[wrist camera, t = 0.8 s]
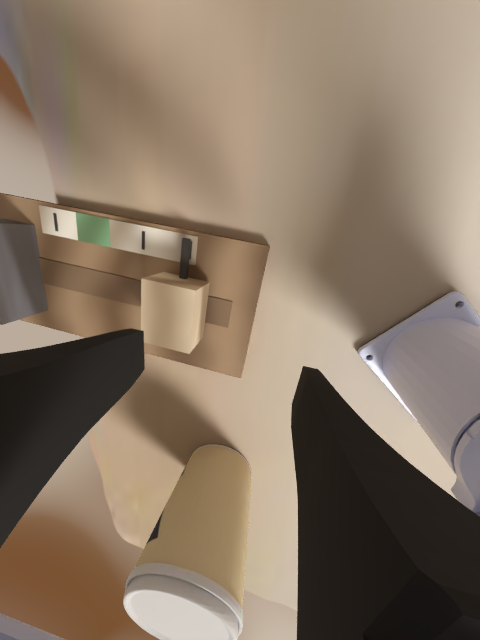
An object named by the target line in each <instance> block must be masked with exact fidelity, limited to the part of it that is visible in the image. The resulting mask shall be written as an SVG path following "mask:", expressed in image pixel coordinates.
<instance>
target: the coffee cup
mask: <svg viewBox="0 0 480 640" xmlns="http://www.w3.org/2000/svg"><path fill="white" fill-rule="evenodd" d="M250 492H251V468H250V465H249V463H248V462H247V460H246V459H245V458H244V457H243V456H242V455H241V454H240V453H239V452H237V451H236V450H234V449H232V448H230V447H227V446H224V445H219V444H207V445H203V446H201V447H199V448H197V449H196V450H195V451H194V452H193V454H192V455H191V457H190V459H189V461H188V463H187V465H186V467H185V469H184V471H183V472H182V474H181V476H180V478H179V480H178V482H177V484H176V486H175V488H174V490H173V492H172V494H171V496H170V498H169V500H168V502H167V504H166V506H165V508H164V510H163V512H162V514H161V516H160V518H159V520H158V522H157V524H156V526H155V528H154V530H153V532H152V534H151V536H150V538H149V540H148V542H147V544H146V546H145V548H144V550H143V552H142V554H141V556H140V558H139V560H138V562H137V565H136V567H135V568H134V569H133V570H132V571H131V573H130V575H129V577H128V579H127V582H126V587H125V588H126V592H125V595H124V600H123V602H124V607H125V610H126V611H127V613H128V615H129V616H130V617H131V618H132V619H133V620H134V621H135V622H136V623H137V624H138V625H139V626H140V627H141V628H143V629H144V630H145V631H147V632H148V633H150V634H151V635H153V636H155V637H157V638H158V639H160V640H237V638H238V636H239V635H240V633H241V631H242V626H243V612H242V603H243V593H244V580H245V566H246V552H247V538H248V523H249V508H250Z"/></svg>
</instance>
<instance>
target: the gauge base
mask: <svg viewBox="0 0 480 640" xmlns="http://www.w3.org/2000/svg"><path fill="white" fill-rule="evenodd" d="M182 238H189V239H191V247H190V258H189V269H188V277H189V278H193V279H198V280H203V281H207V282H210V286H209V294H208V302H207V310H206V318H205V325H204V333H203V338H202V339H201V340H200V341H199V343H198V344H197V345H196V346H195V348H194V349H193V350H192V351H191V353H190V354H187V353H183V352H179V351H176V350H172V349H168V348H164V347H160V346H156V345H152V344H149V343H145V342H144V353H147V354H151V355H155V356H158V357H162V358H166V359H170V360H174V361H177V362H181V363H185V364H189V365H193V366H196V367H200V368H204V369H208V370H212V371H215V372H219V373H223V374H227V375H230V376H234V377H238V378H241V375H242V372H243V367H244V363H245V358H246V353H247V349H248V344H249V339H250V335H251V330H252V326H253V321H254V316H255V312H256V307H257V303H258V298H259V293H260V289H261V284H262V279H263V275H264V270H265V266H266V261H267V256H268V252H269V247H270V246H267V245H262V244H257V243H252V242H247V241H242V240H237V239H232V238H227V237H222V236H217V235H211V234H206V233H201V232H196V231H191V230H186V229H181V228H176V227H171V226H166V225H161V224H156V223H151V222H146V221H140V220H135V219H130V218H125V217H120V216H115V215H110V214H105V213H100V212H95V211H90V210H85V209H80V208H75V207H69V206H64V205H59V204H54V203H49V202H44V201H39V200H34V199H29V198H24V197H19V196H14V195H8V194H3V193H0V324H1V325H3V324H6V323H9V322H12V321H16V320H19V319H20V320H22V321H26V322H30V323H34V324H38V325H41V326H45V327H49V328H53V329H56V330H60V331H64V332H68V333H71V334H75V335H79V336H83V337H87V338H88V337H92V336H96V335H100V334H104V333H109V332H113V331H118V330H123V329H130V328H132V329H137V330H141V278H144V277H148V276H151V275H155V274H158V273H161V272H166V273H171V274H175V275H179V272H180V259H181V245H182Z"/></svg>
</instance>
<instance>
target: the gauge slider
mask: <svg viewBox="0 0 480 640" xmlns="http://www.w3.org/2000/svg"><path fill="white" fill-rule="evenodd" d="M190 247H191V239H189V238H182V245H181V259H180V272H179V275H175V274H171V273H166V272H161V273H158V274H155V275H151V276H148V277H144V278H141V330H142V331H144V342H145V343H149V344H152V345H156V346H160V347H164V348H168V349H172V350H176V351H179V352H183V353H187V354H190V353H191V351H192V350H193V349H194V348H195V346H196V345H197V344H198V343H199V341H200V340H201V339H202V338H203V333H204V325H205V318H206V310H207V302H208V294H209V286H210V282H207V281H203V280H198V279H193V278H189V277H188V269H189V258H190Z"/></svg>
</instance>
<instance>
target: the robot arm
mask: <svg viewBox="0 0 480 640" xmlns="http://www.w3.org/2000/svg"><path fill="white" fill-rule="evenodd" d="M459 301H460V304H459V305H458V306H455V305H456V303H457V302H459ZM358 354H359V355H360V357H361V358H362V359H363V360H364V361H365V363H366V364H367V365H368V366H369V367H370V368H371V369H372V371H373V372H374V373H375V374H376V375H377V376H378V377H379V379H380V380H381V381H382V382H383V383H384V384H385V386H386V387H387V388H388V389H389V390H390V391H391V392H392V394H393V395H394V396H395V397H396V398H397V399H398V400H399V402H400V403H401V404H402V405H403V406H404V407H405V409H406V410H407V411H408V412H409V413H410V414H411V415H412V417H413V418H414V419H415V420H416V421H417V422H418V423H419V424H420V426H421V427H422V428H423V430H424V431H425V433H426V434H427V435H428V437H429V438H430V439H431V441H432V442H433V444H434V445H435V446H436V448H437V449H438V450H439V452H440V453H441V455H442V456H443V457H444V459H445V460H446V462H447V463H448V464H449V466H450V467H451V468H452V470H453V471H454V473H455V474H456V475H457V479H456V482H455V484H454V486H453V487H452V488H451V491H452V492H453V494H454V495H455V497H456V498H457V500H456V499H455V498H454V497H452V496H451V495H450V494H448V493H447V492H446V491H444V490H443V489H442V488H440V487H439V486H438V485H436V484H435V483H434V482H433V481H431V480H430V479H429V478H428V477H426V476H425V475H424V474H423V473H421V472H420V471H419V470H418V469H416V468H415V467H414V466H413V465H411V464H410V463H409V462H408V461H407V460H406V459H404V458H403V457H402V456H401V455H400V454H398V453H397V452H396V451H395V450H394V449H393V448H392V447H391V446H390V445H388V444H387V443H386V442H385V441H384V440H383V439H382V438H381V437H380V436H379V435H377V434H376V433H375V432H374V431H373V430H372V429H371V428H370V427H369V426H368V425H367V424H366V423H365V422H364V421H363V420H362V419H361V418H360V417H359V416H358V414H357V413H356V412H355V411H354V410H353V409H352V408H351V407H350V406H349V405H348V404H347V403H346V401H345V400H344V399H343V398H342V397H341V396H340V395H339V393H338V392H337V391H336V390H335V389H334V387H333V386H332V385H331V384H330V383H329V381H328V380H327V379H326V378H325V377H324V375H323V374H322V373H321V372H320V371H319V370H318V369H314V368H310V367H305V366H303V369H302V372H301V375H300V379H299V382H298V385H297V389H296V392H295V396H294V399H293V402H292V416H291V429H292V440H293V450H294V460H295V470H296V480H297V494H298V611H297V614H298V616H297V640H480V317H479V316H478V314H477V313H476V312H475V310H474V309H473V308H472V306H471V305H470V304H469V302H468V301H467V300H466V298H465V297H464V296H463V294H461V293H459V292H450V293H448V294H446V295H445V296H443V297H442V298H440V299H438V300H437V301H435V302H433V303H432V304H430V305H429V306H427V307H425V308H424V309H422V310H420V311H419V312H417V313H416V314H414V315H412V316H411V317H409V318H407V319H406V320H404V321H403V322H401V323H399V324H398V325H396V326H394V327H393V328H391V329H390V330H388V331H386V332H385V333H383V334H381V335H380V336H378V337H377V338H375V339H373V340H372V341H370V342H368V343H367V344H365V345H364V346H362V347H360V348H359V350H358ZM367 355H371V357H370V358H366V356H367ZM143 370H144V331H142V330H137V329H132V328H130V329H123V330H118V331H113V332H109V333H104V334H100V335H96V336H92V337H88V338H83V339H79V340H75V341H70V342H66V343H61V344H56V345H52V346H47V347H42V348H36V349H30V350H24V351H17V352H11V353H4V354H0V548H1V546H2V545H3V543H4V542H5V540H6V539H7V537H8V536H9V534H10V533H11V531H12V530H13V529H14V527H15V526H16V524H17V523H18V521H19V520H20V519H21V517H22V516H23V515H24V513H25V512H26V510H27V509H28V508H29V506H30V505H31V503H32V502H33V501H34V499H35V498H36V497H37V495H38V494H39V492H40V491H41V490H42V488H43V487H44V486H45V485H46V483H47V482H48V481H49V479H50V478H51V477H52V475H53V474H54V473H55V472H56V470H57V469H58V468H59V466H60V465H61V464H62V462H63V461H64V460H65V459H66V457H67V456H68V455H69V454H70V453H71V451H72V450H73V449H74V448H75V446H76V445H77V444H78V443H79V442H80V440H81V439H82V438H83V437H84V436H85V435H86V433H87V432H88V431H89V430H90V429H91V428H92V427H93V426H94V425H95V424H96V423H97V422H98V421H99V420H100V419H101V418H102V417H103V416H104V415H105V414H106V413H107V412H108V411H109V409H110V408H111V407H112V406H113V405H114V404H115V403H116V402H117V401H118V400H119V399H120V398H121V397H122V396H123V395H124V394H125V393H126V392H127V391H128V390H129V389H130V388H131V387H132V385H133V384H134V383H135V381H136V380H137V379H138V377H139V376H140V375H141V373H142V372H143ZM0 640H65V639H63V638H60V637H58V636H55V635H53V634H50V633H48V632H45V631H43V630H40V629H38V628H36V627H33V626H30V625H28V624H25V623H23V622H21V621H18V620H15V619H13V618H11V617H8V616H6V615H3V614H1V613H0Z"/></svg>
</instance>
